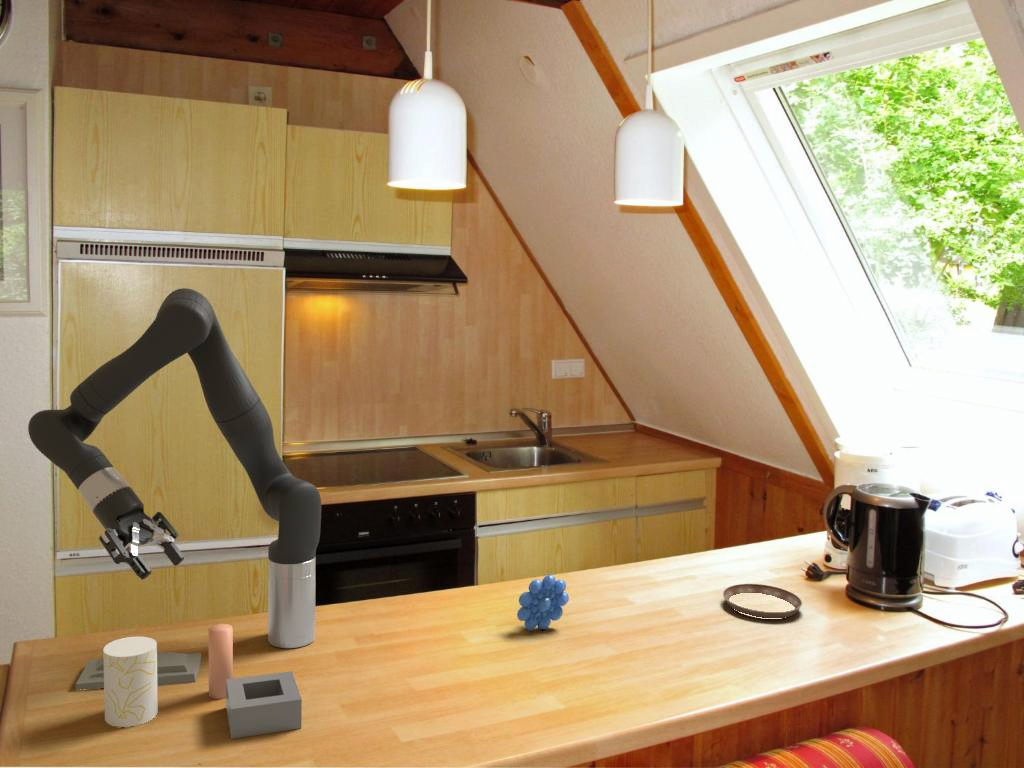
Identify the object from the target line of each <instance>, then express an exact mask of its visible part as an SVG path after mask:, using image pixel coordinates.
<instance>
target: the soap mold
mask: <svg viewBox="0 0 1024 768" xmlns="http://www.w3.org/2000/svg"><path fill="white" fill-rule="evenodd" d="M202 660H203V659H202V653H201V652H194V653H181V652H176V651H167V652H157V686H164V685H165V684H167V685H178V684H180V685H181V684H189V683H191V684H192V682H193V683H197V680H198V676H199V671H200V669H201V668H200V667H201V664H202ZM161 684H162V685H161ZM165 686H166V685H165ZM99 688H100V689H99ZM101 688H104V660H103V658H96V659H89V661H88V662H87V664H86V666H85V667H84V669H83V670H82V672H81V674H80V676H79V677H78V679H77V681H76V683H75V691H76V690H80V689H81V690H83V689H99V690H102V689H101Z"/></svg>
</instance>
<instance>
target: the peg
mask: <svg viewBox="0 0 1024 768" xmlns="http://www.w3.org/2000/svg"><path fill="white" fill-rule="evenodd" d="M207 630H208V697H209V698H211V699H213V700H214V699H215V700H222V699H226V679H234V678H233V674H234V671H233V668H234V666H233V664H234V661H233V659H234V657H233V656H234V655H233V653H234V652H233V651H234V650H233V648H234V647H233V641H234V640H233V638H234V637H233V636H234V635H233V625H231V624H227V623H218V624H214V625H211V626H210V627H209V628H208V629H207Z"/></svg>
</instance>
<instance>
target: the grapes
mask: <svg viewBox="0 0 1024 768" xmlns="http://www.w3.org/2000/svg"><path fill="white" fill-rule="evenodd" d="M566 589H567V583H566V581H565V580H564V579H558V580H556V577H555V576H554V575H553V574H547V575H545V576H544V577H543V579H542V580H541V579H534V580H533V579H532V581H531V582H530V583H529V584H528V590H529V591H525V592H523V593H521V595H520V596H519V598H518V603H519V605H520V606H521V607H519V609H518V610H517V613H516V617H517V620H519V621H520V622H524V628H525V629H526V630H527V631H532V630H535V629H536V628H538V630H540V629H545V630H547V629H548V628H549V627H550V625H551V622H552V621H553V622H554V621H556V622H557V621H558V620H560V618H562V616H563V613H564V610H563V608H562V607H565V606H566V605H567V604H568V602H569V600H570V597H569V594H568V593H567V592H566V591H565V590H566Z"/></svg>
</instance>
